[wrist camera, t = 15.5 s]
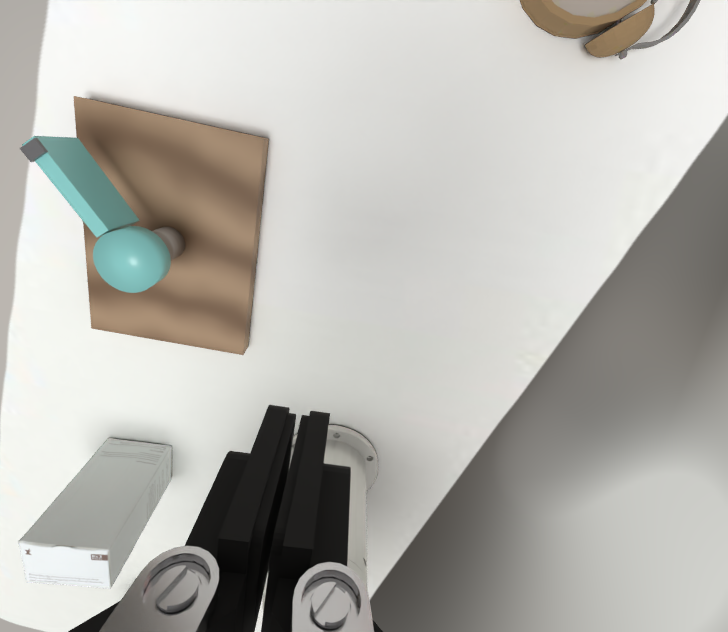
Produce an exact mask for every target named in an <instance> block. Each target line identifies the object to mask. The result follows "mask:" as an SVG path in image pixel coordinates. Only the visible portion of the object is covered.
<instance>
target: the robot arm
mask: <svg viewBox="0 0 728 632" xmlns="http://www.w3.org/2000/svg"><path fill="white" fill-rule="evenodd" d="M329 417H330V413H323V412H316V411H311V412H310V416H305V415H302V417H301V421H300V425H299V430H298V434H296V435H295V436H294V437H293V435H294V427H295V419H296V414H291V413H289V408H288V407H280V406H273V405H269V406H268V409H267V411H266V414H265V416H264V419H263V422H262V424H261V427H260V430H259V432H258V435H257V438H256V440H255V443H254V445H253V448H252V451H251V453H250V454H249V453H242V452H234V451H229V452H228V453H227V455H226V457H225V459H224V461H223V464H222V466H221V468H220V470H219V472H218V474H217V477H216V479H215V481H214V483H213V485H212V488H211V490H210V492H209V494H208V496H207V498H206V501H205V503H204V505H203V507H202V509H201V511H200V514H199V516H198V518H197V520H196V522H195V525H194V527H193V529H192V531H191V533H190V535H189V538H188V540H187V542H186V544H185V546H183V547H177V548H173V549H171V550H168V551H166V552H164V553H162V554H160V555H159V556H157V557H156V558H155V559H153V560H152V561H150V562H149V564H148V565H147V566H146V567H145V568H144V569H143V570H142V571H141V572H140V574H139V575H138V577H137V578H136V580H135V581H134V582H133V584H132V585H131V587H130V588H129V590H128V591H127V592H126V594H125V595H124V597H123V598H122V599H121V601H119V602H118V603H116V604H114V605H113V606H111V607H109V608H107V609H106V610H104V611H102V612H101V613H99V614H97V615H96V616H94V617H92V618H91V619H89V620H87V621H85V622H84V623H82V624H80V625H79V626H77V627H75V628H74V629H72V630H70V631H69V632H254V631H255V627H256V622H257V618H258V613H259V609H260V605H261V600H262V596H263V621H262V629H261V632H383V631H382V630H381V629H380V628H379V627H378V626H377V624H376V623H375V622H374V621H373V619H372V614H371V608H370V601H369V596H368V593H367V506H366V492H367V491H368V490H369V489H370V488H371V486H372V485H373V484H374V482H375V480H376V477H377V473H378V459H377V454H376V452H375V450H374V448H373V446H372V445H371V444H370V442H369V441H368V440H367V439H366V438H365V437H363V436H362V435H361V434H359V433H357V432H356V431H354V430H351V429H349V428H346V427H342V426H337V425H329ZM264 587H265V588H264ZM263 592H264V593H263Z"/></svg>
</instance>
